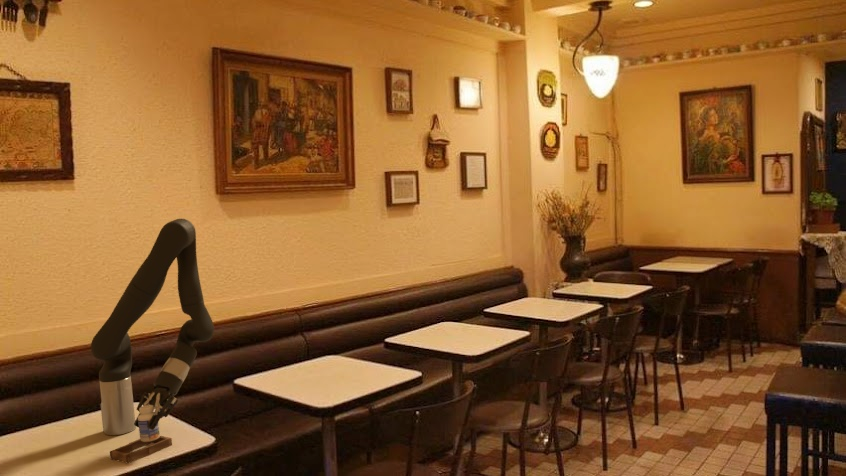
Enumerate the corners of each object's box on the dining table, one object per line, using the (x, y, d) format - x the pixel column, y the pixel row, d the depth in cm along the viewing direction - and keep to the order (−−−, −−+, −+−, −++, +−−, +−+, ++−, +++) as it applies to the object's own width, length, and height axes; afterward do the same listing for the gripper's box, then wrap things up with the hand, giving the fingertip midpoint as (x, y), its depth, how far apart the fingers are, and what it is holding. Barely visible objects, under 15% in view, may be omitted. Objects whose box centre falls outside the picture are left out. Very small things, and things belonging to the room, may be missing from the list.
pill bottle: (153, 442, 204) (149, 409, 203) (136, 442, 205) (132, 410, 204) (163, 435, 209) (159, 403, 208) (147, 435, 210) (143, 404, 209)
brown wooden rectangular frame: (109, 458, 201) (108, 451, 201) (152, 441, 213) (151, 434, 213) (129, 463, 196) (128, 455, 196) (172, 445, 209) (171, 437, 208)
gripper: (148, 368, 216) (118, 419, 206) (179, 371, 208) (150, 424, 199) (164, 380, 220) (136, 430, 211) (195, 383, 213) (167, 435, 204)
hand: (143, 427), depth 205 cm, fingers closed on pill bottle, 5 cm apart
